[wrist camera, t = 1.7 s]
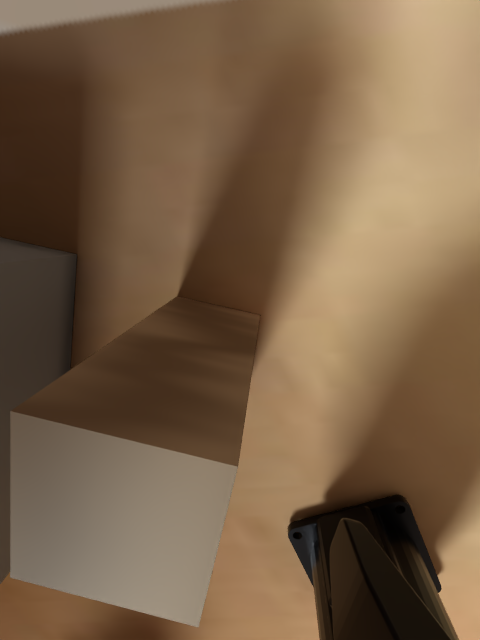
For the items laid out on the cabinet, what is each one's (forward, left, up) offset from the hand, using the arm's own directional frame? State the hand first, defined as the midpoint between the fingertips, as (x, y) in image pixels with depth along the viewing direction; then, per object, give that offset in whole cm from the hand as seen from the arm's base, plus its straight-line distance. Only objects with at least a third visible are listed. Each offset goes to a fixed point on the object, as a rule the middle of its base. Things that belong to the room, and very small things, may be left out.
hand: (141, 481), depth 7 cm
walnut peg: (0, 0, -9) cm, 9 cm away
